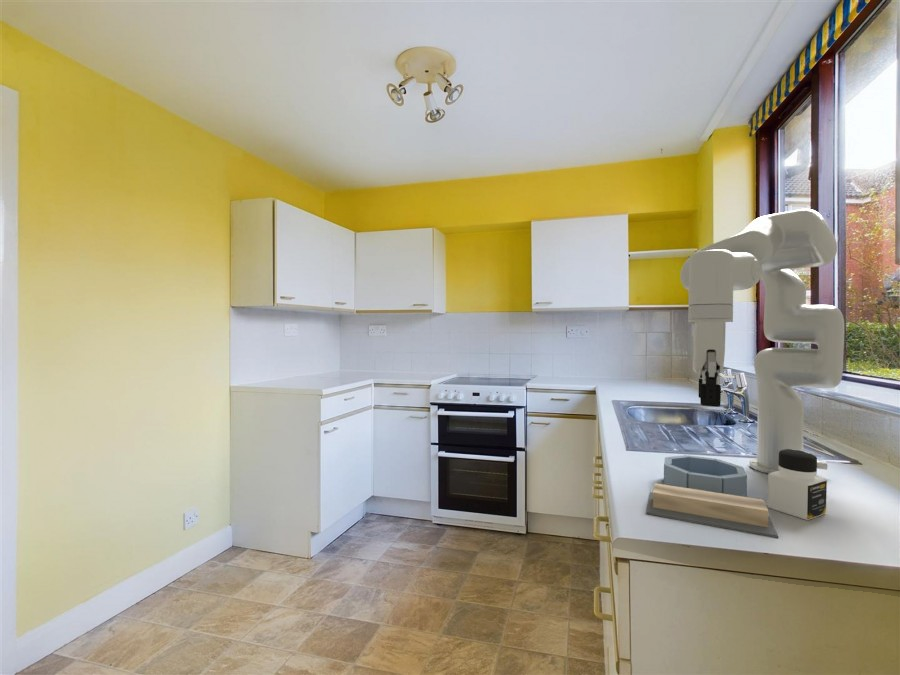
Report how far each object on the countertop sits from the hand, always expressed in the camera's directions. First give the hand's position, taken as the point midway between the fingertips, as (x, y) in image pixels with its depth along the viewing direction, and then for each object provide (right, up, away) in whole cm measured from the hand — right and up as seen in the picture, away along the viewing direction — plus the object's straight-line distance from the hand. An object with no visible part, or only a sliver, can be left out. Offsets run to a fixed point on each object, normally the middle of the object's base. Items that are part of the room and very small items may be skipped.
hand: (708, 401), depth 87 cm
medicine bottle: (+19, -22, +2) cm, 29 cm away
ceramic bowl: (+7, -22, +15) cm, 27 cm away
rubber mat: (0, -22, 0) cm, 22 cm away
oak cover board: (0, -22, 0) cm, 22 cm away
